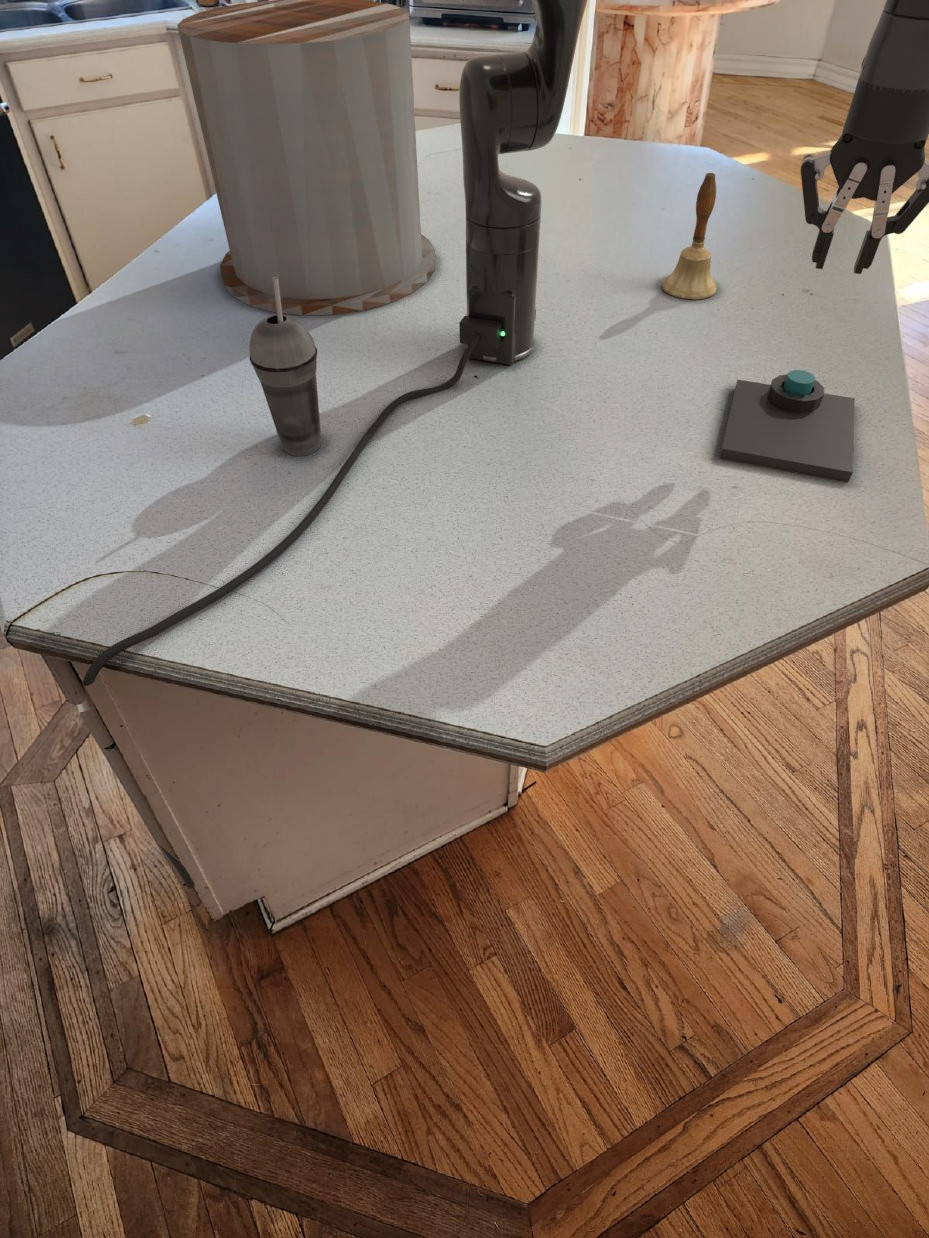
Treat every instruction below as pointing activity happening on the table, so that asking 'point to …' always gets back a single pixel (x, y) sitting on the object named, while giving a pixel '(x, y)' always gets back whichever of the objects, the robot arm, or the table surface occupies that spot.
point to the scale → (791, 430)
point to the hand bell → (695, 253)
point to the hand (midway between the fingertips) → (838, 267)
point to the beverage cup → (288, 378)
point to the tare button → (799, 382)
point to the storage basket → (311, 151)
